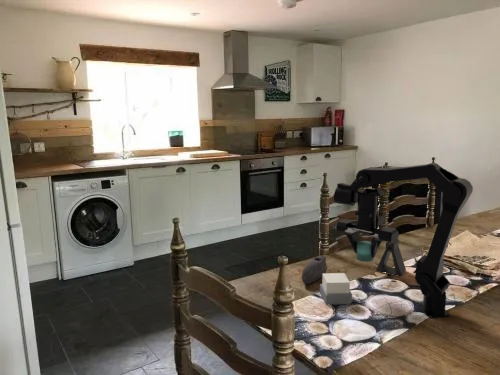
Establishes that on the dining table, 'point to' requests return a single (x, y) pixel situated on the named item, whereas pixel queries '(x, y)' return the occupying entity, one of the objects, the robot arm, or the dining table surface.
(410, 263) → the dining table surface
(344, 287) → the off-white top block
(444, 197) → the robot arm
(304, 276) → the perforated stone tool
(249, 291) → the dining table surface
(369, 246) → the teal short cylinder
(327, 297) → the slate base block
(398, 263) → the grey a-frame stand
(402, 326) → the dining table surface
